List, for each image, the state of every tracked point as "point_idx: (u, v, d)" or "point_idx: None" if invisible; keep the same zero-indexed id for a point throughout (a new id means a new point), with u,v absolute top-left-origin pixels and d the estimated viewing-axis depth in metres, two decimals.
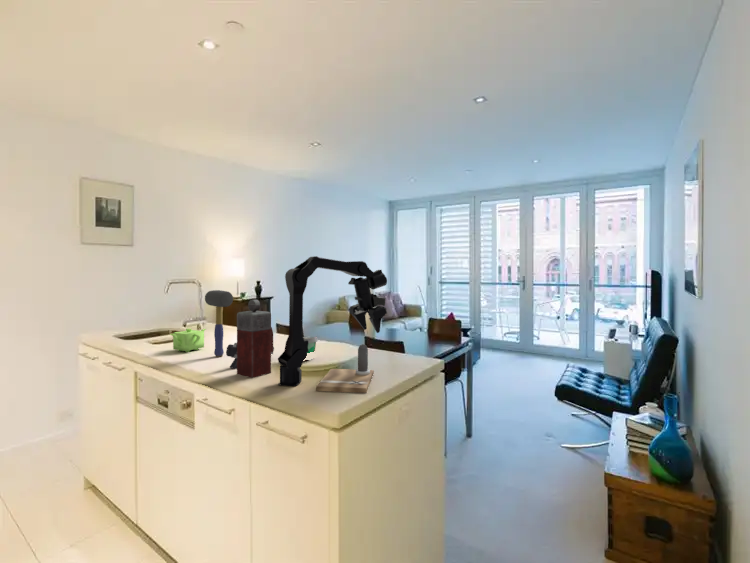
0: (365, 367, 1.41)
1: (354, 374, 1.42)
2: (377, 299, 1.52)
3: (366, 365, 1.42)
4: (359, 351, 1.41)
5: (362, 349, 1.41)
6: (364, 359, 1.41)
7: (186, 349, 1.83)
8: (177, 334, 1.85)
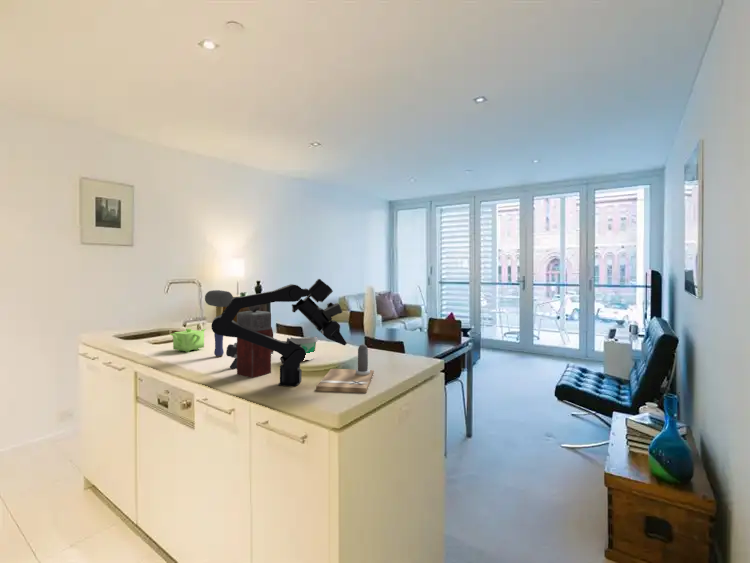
0: (365, 367, 1.41)
1: (354, 374, 1.42)
2: (329, 311, 1.36)
3: (366, 365, 1.42)
4: (359, 351, 1.41)
5: (362, 349, 1.41)
6: (364, 359, 1.41)
7: (186, 349, 1.83)
8: (177, 334, 1.85)
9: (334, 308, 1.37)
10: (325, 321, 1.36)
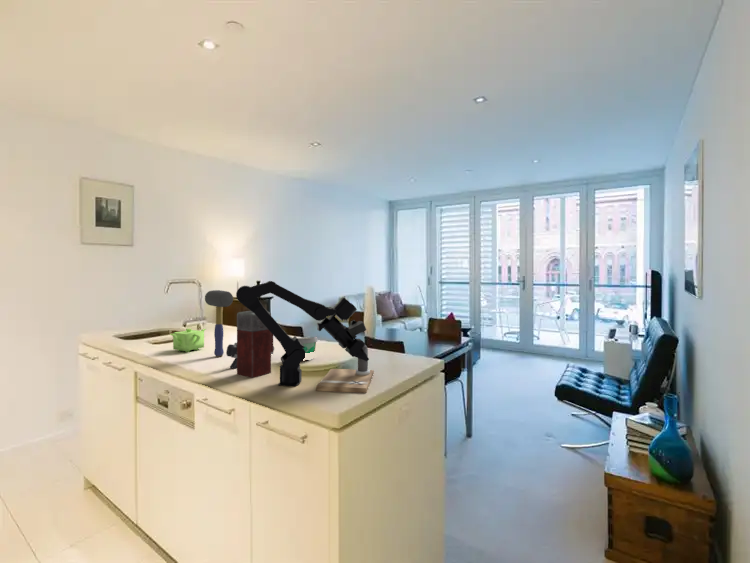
0: (365, 367, 1.41)
1: (354, 374, 1.42)
2: (354, 329, 1.39)
3: (366, 365, 1.42)
4: None
5: None
6: None
7: (186, 349, 1.83)
8: (177, 334, 1.85)
9: (358, 326, 1.39)
10: (350, 339, 1.38)
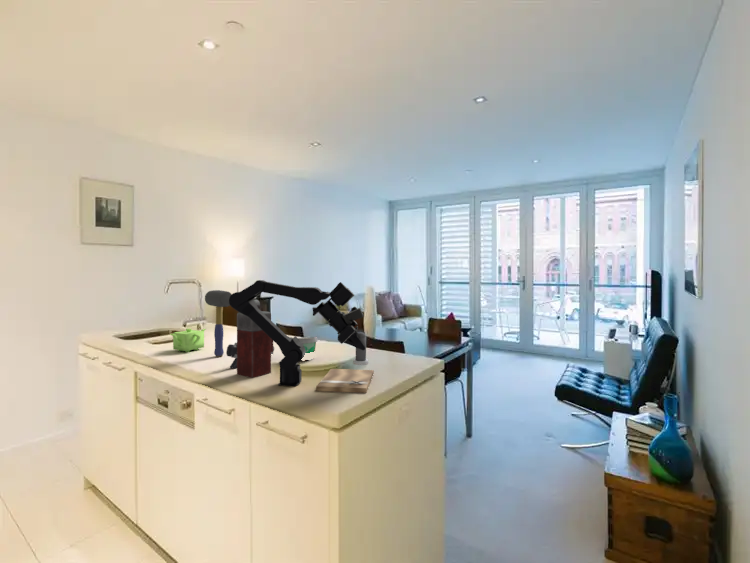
0: (362, 356, 1.33)
1: (354, 374, 1.42)
2: (349, 316, 1.32)
3: (363, 354, 1.34)
4: None
5: (359, 337, 1.33)
6: None
7: (186, 349, 1.83)
8: (177, 334, 1.85)
9: (354, 312, 1.32)
10: (344, 326, 1.32)
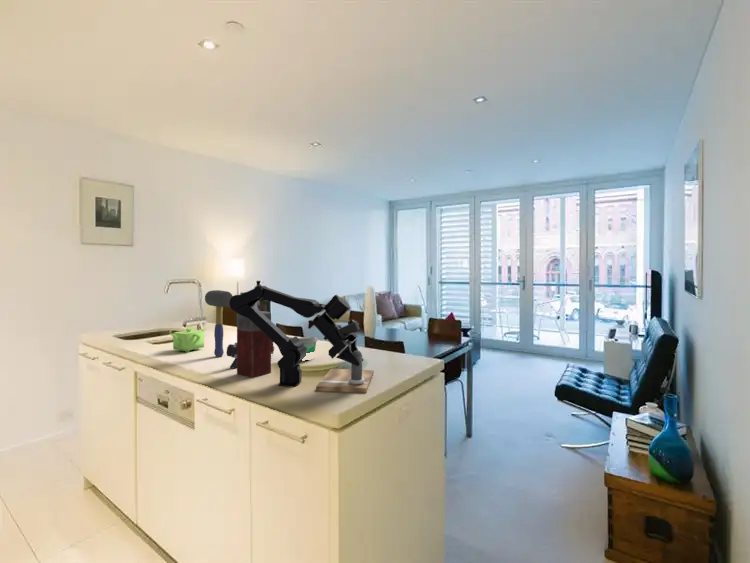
0: (357, 375, 1.29)
1: None
2: (343, 329, 1.29)
3: (358, 373, 1.29)
4: None
5: None
6: (355, 367, 1.29)
7: (186, 349, 1.83)
8: (177, 334, 1.85)
9: (348, 326, 1.29)
10: (338, 339, 1.29)
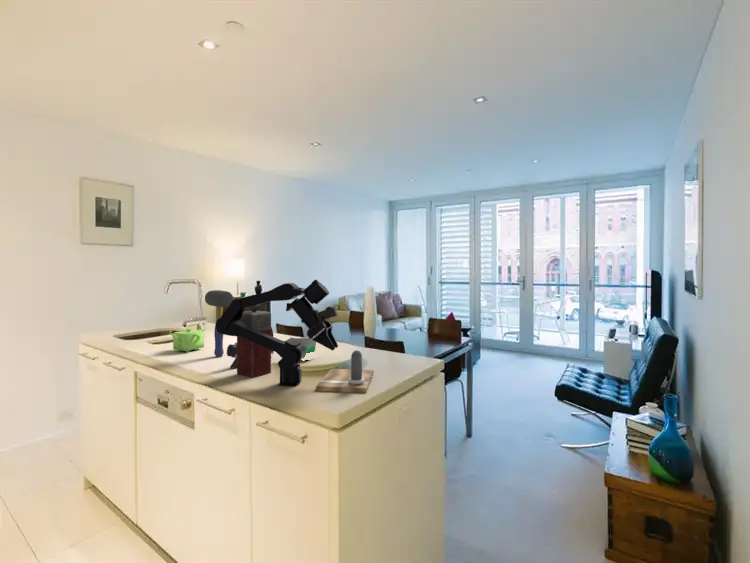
0: (357, 375, 1.29)
1: None
2: (322, 313, 1.31)
3: (358, 373, 1.29)
4: (351, 357, 1.30)
5: (353, 355, 1.29)
6: (355, 367, 1.29)
7: (186, 349, 1.83)
8: (177, 334, 1.85)
9: (327, 310, 1.31)
10: (316, 323, 1.31)
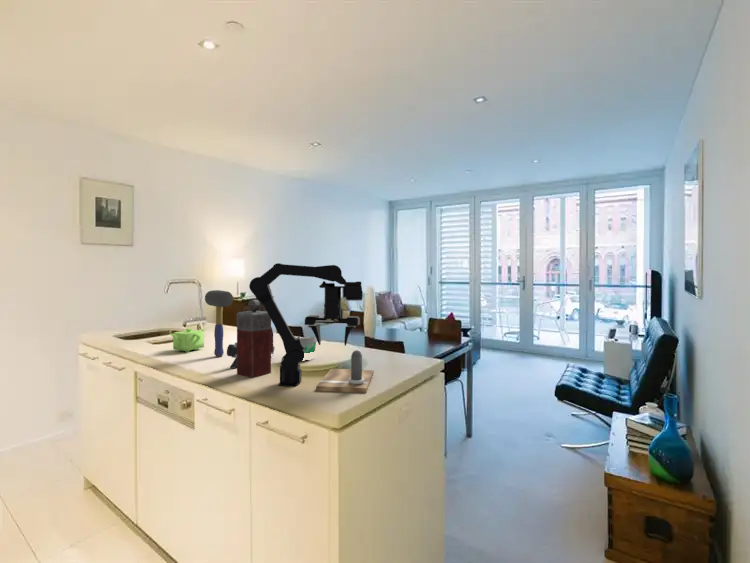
0: (357, 375, 1.29)
1: None
2: None
3: (358, 373, 1.29)
4: (351, 357, 1.30)
5: (353, 355, 1.29)
6: (355, 367, 1.29)
7: (186, 349, 1.83)
8: (177, 334, 1.85)
9: (342, 311, 1.43)
10: (340, 315, 1.37)
